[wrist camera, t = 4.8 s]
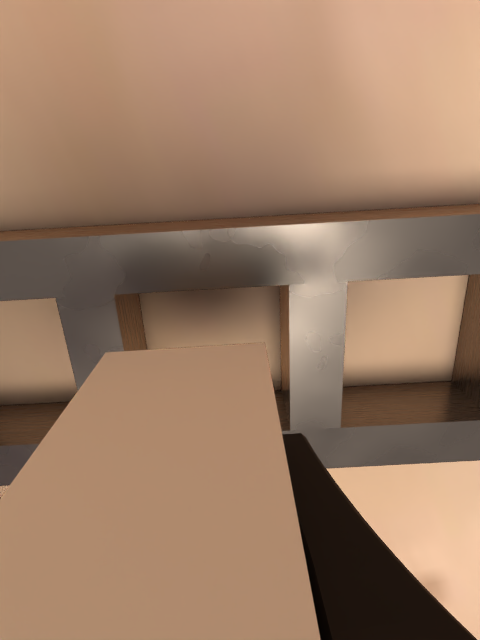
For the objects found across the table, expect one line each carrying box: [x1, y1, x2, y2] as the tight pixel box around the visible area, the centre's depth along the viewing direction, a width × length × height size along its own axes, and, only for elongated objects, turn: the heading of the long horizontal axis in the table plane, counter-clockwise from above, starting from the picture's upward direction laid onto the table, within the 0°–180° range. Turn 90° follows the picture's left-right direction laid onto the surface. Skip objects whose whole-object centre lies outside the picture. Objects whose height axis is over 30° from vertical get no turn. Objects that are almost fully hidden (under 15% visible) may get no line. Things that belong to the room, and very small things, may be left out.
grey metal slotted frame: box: [0, 204, 480, 486], centre depth 15 cm, size 26×10×3 cm, turn 93°
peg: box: [0, 342, 321, 640], centre depth 7 cm, size 4×4×7 cm
